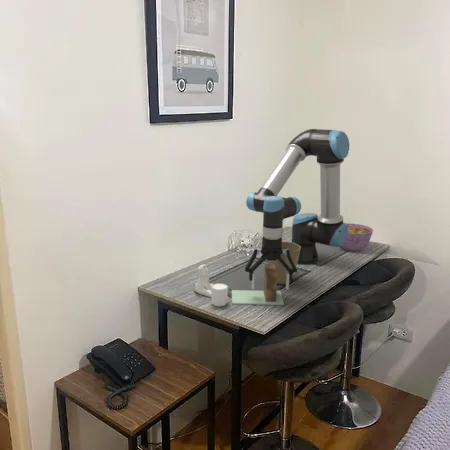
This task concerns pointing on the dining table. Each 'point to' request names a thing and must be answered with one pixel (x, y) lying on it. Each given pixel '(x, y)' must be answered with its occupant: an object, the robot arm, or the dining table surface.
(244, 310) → the dining table surface
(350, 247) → the bowl of food
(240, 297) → the mat
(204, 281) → the seated beast figurine
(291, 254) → the plant pot
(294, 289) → the dining table surface
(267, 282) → the walnut slab
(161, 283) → the dining table surface
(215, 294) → the white mug
